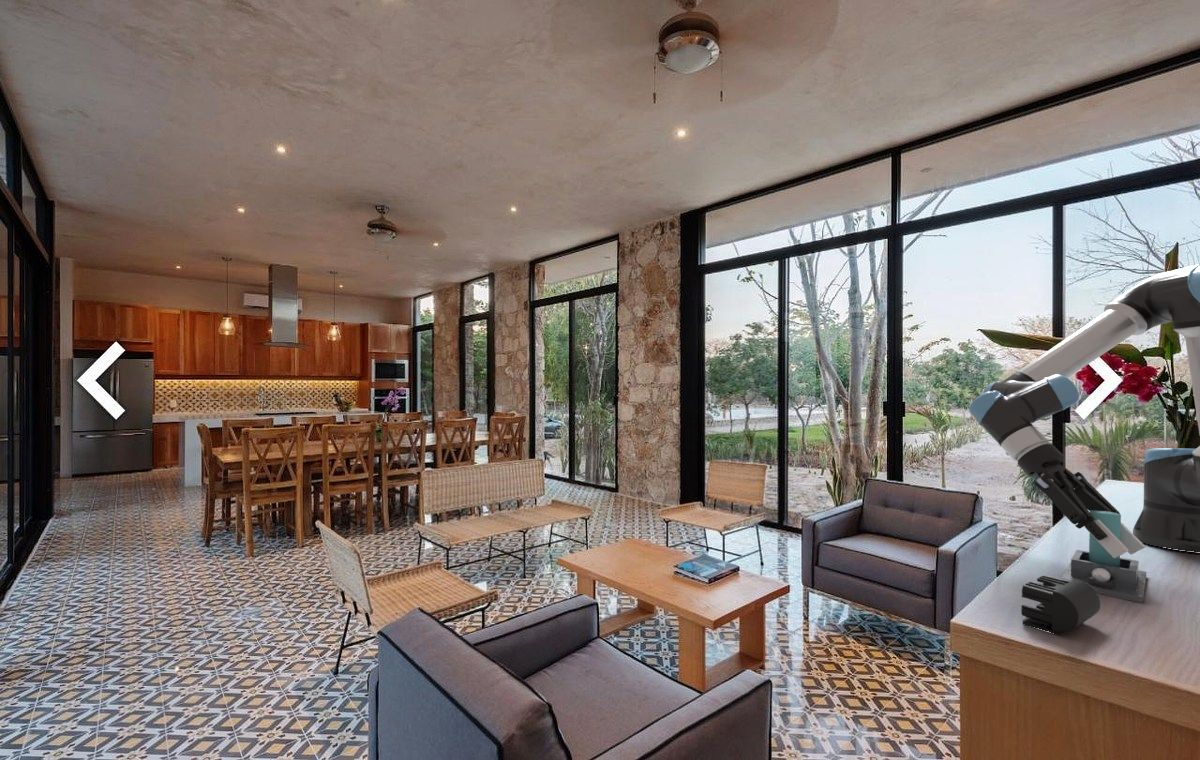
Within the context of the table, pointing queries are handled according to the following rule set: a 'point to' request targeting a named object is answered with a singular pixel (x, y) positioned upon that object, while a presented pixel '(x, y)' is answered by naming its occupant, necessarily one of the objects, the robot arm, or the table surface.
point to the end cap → (1059, 604)
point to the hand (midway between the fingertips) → (1129, 552)
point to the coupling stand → (1108, 577)
